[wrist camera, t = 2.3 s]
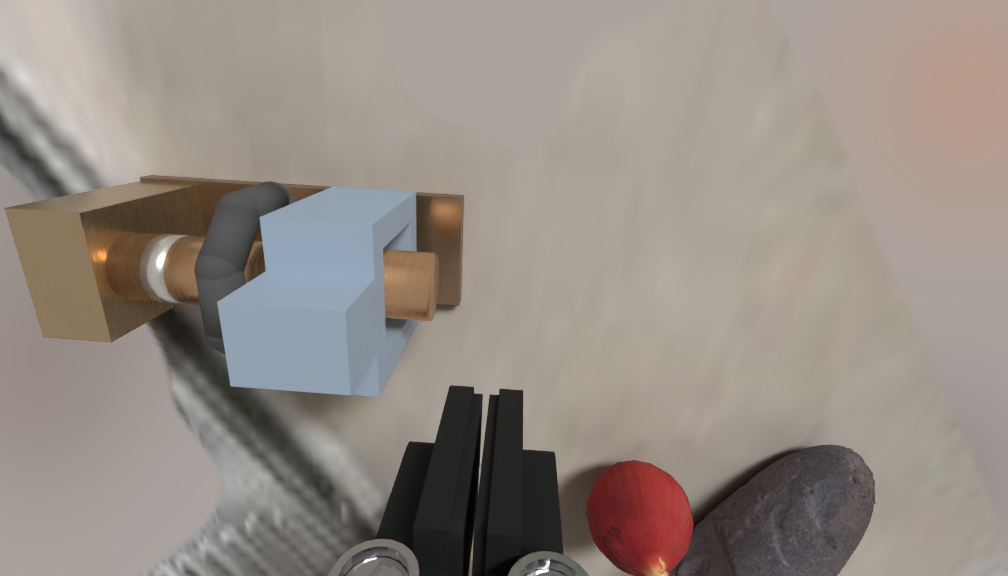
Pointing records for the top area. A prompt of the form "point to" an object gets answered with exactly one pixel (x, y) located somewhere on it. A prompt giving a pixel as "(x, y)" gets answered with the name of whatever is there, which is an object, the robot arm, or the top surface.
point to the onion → (640, 518)
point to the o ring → (231, 248)
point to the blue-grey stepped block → (322, 296)
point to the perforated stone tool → (787, 519)
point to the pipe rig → (188, 254)
